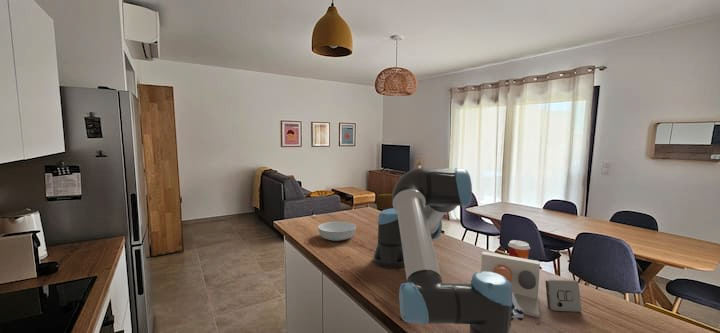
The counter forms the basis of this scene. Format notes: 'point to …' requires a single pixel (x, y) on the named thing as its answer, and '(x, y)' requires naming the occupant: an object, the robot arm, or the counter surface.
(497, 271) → the knob
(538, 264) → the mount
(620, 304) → the counter surface
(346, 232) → the serving bowl
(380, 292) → the counter surface
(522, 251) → the paper cup
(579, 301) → the electrical switch
